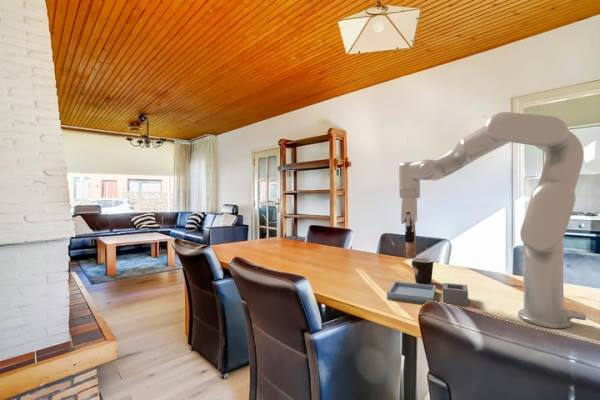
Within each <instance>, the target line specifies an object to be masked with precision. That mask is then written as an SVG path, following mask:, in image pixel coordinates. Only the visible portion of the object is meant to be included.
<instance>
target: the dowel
mask: <svg viewBox="0 0 600 400" xmlns="http://www.w3.org/2000/svg"><path fill="white" fill-rule="evenodd" d="M415 231H416V225H415V226H413V232H414V243H411V242H405V257H406V258H408V259H415V258H417V254H416V253H417V251H416V250H417V248H416V246H417V244H416V243H417V242H416V240H417V237H416V238H415Z"/></svg>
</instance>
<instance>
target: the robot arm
mask: <svg viewBox="0 0 600 400" xmlns="http://www.w3.org/2000/svg"><path fill="white" fill-rule="evenodd" d="M510 143H515V144H520V145H521V144H522V145H529V146H535V147H536V148H537V149H538V150H539V149H540V150H542V151H543V153H544V154H545V160H544V163H543V167H542V171H541V175H540V178H539V181H538V184H537V186H536V187H535V188H534V189H533V191H532V193H531V195H530V198H529V202H528V205H527V209H526V212H525V216H524V218H523V219H524V220H523V222H522V225H521V229H520V233H519V235H520V239H521V241H522V244H523V245H522V246H523V247H522V248H523V250H522V251H523V254H522V255H523V256H522V258H523V261H522V262H523V270H522V271H523V274H522V275H523V309H520V310H518V311H517V315H518V316H517V317H519V318H520V319H521V320H523V321H525V322H527V323H530V324H531V325H535V326H538V327H545V328H551V329H566V328H569V327H571V326H572V319H574V320H575V319H576V320H581V321H586V319H587V316H586V313H584V312H578V311H577V310H573V309H572V310H571V309H567V308H566V307H565V306H564V305H565V301H564V299H565V298H564V295H565V292H564V291H565V290H564V237H565V235H566V231H567V229H568V226H569V223H570V220H571V217H572V214H573V211H574V207H575V203H576V199H577V197H576V188H577V184H578V181H579V178H580V174H581V170H582V167H583V163H584V157H585V154H584V148H583V144H582V143H581V141H580V139H579V138H578V137H577V135H576V134H575V133H573V132H572V131H570V130H569V129H568V125H567V123H566V122H565V121H564V120H563V119H561V118H559V117H557V116H553V115H543V114H534V113H533V114H531V113H521V112H509V111H501V112H497V113H495V114H493V115H492V116H491V117H489V118H488V120H487V121H486V123H485V125H484V126H482V127H480V128H479V129H477V130H475V131H473V132H471V133H470V134H468V135H467V136H466V135H465V136H464V137H463V138H461V139H460V140H459V141H458V142H457V144H456V145H455V147H454V148H453V149H451V150H450V151H449V152H448V153H446V154H444V155H442V156H441V157H438V158H437V159H435V160H433V159H423V160H418V161H406V162H401V163H399V166H398V179H399V180H398V181H399V186H398V188H399V190H398V191H399V192H398V193H399V199H401V207H400V208H401V213H400V214H401V215H400V223H401V224H403V225H405V226H404V227H405V230H404V231H405V232H404V236H405V237H404V240H405V243H406V242H411V243H414V232H413V226H415V227H416V223H417V222H418V199H419V198H420V199H421V180H422V181H423V180H424V181H439V180H442V179H444V178H446V177H447V176H450V175H451V174H453V173H455V172H457V171H460V170H461V169H462V168H464V167H466V166H468V165H469V164H471V163H472V162H474V161H475V160H476V161H477V160H478V159H480V158H482V157H484V156H486V155H488V154H489V153H491V152H493V151H495V150H497V149H499V148H501V147H503V146H505V145H507V144H510ZM416 234H417V233H416V230H415V238H416V239H417V237H416Z"/></svg>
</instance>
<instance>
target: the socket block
mask: <svg viewBox="0 0 600 400" xmlns="http://www.w3.org/2000/svg"><path fill="white" fill-rule="evenodd" d="M468 290H469V289H468V285H467V284H462V283H461V284H459V283H452V282H451V283H448V282H443V283H442V303H443V302H444V304H451V303H452V304H454V305H459V304H460V306H469V291H468Z"/></svg>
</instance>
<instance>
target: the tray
mask: <svg viewBox="0 0 600 400" xmlns="http://www.w3.org/2000/svg"><path fill="white" fill-rule="evenodd" d="M436 292H437V291H436V285H435V284H434V285H433V284H432V285H431V284H429V285H425V284H417V283H416V282H414V283H413V282H404V281H403V282H402V281H394V282H393V283H392V284H391V285H390V287H389V289H388V290H387V292H386V299H387V300H389V301H390V300H391V301H398V302H406V303H407V302H408V303H415V304H422V305H423V304H424V303H426V302H428V301H434V302H435V297H436ZM424 305H425V304H424Z"/></svg>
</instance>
